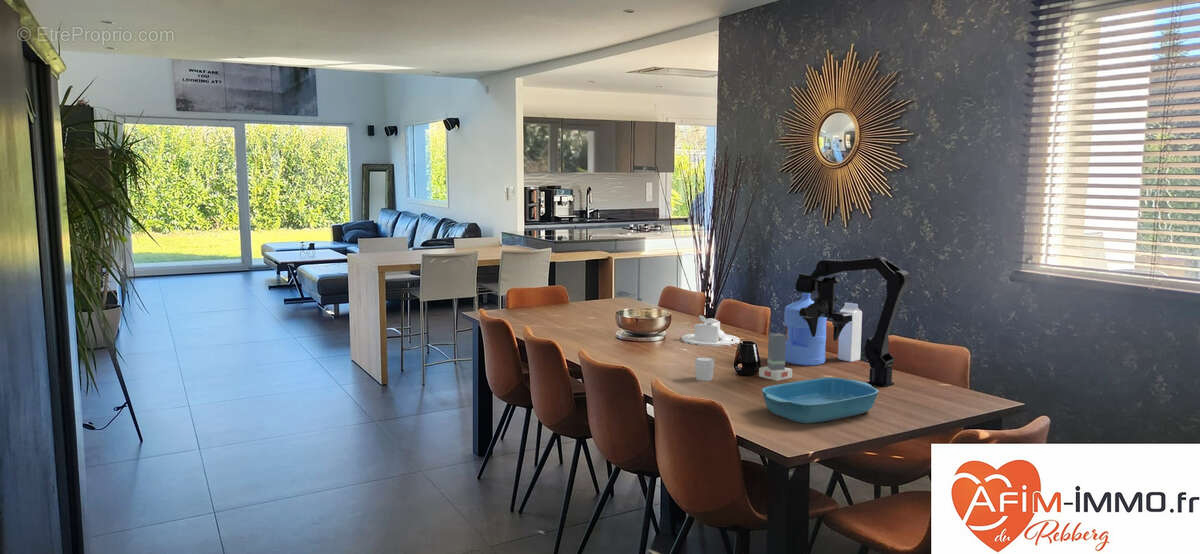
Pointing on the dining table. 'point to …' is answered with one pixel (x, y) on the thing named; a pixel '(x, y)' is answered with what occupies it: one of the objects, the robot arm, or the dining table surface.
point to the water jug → (804, 336)
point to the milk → (851, 334)
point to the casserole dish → (819, 399)
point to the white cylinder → (704, 368)
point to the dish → (709, 334)
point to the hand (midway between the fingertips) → (824, 338)
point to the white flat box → (775, 373)
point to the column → (776, 351)
